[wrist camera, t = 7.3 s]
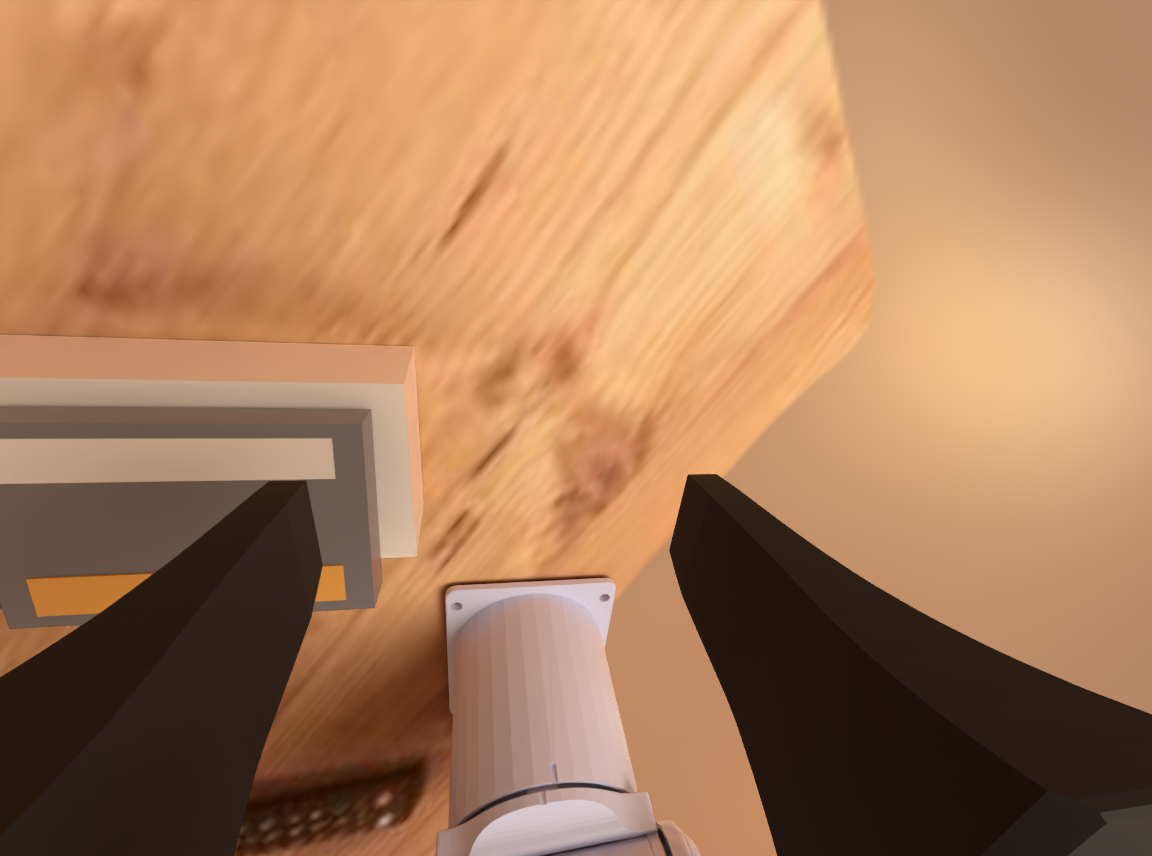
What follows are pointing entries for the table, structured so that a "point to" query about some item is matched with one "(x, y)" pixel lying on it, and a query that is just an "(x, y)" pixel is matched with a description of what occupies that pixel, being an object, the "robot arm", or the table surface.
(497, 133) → the table surface
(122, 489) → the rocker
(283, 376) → the power strip
